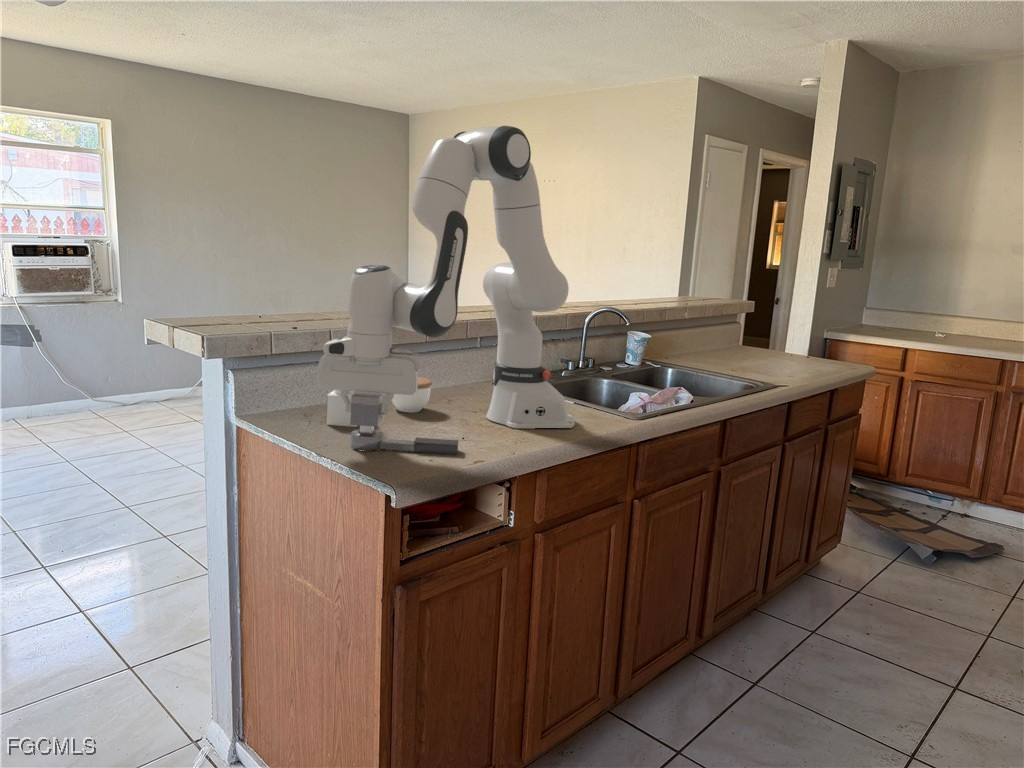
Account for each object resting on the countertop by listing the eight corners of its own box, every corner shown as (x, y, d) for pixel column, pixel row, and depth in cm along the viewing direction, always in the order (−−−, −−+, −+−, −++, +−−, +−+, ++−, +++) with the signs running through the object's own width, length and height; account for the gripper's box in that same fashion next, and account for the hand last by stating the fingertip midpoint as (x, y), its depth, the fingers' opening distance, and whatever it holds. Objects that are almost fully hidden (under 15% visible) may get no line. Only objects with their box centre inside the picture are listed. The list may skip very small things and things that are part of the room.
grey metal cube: (381, 419, 145) (383, 392, 144) (377, 426, 140) (378, 397, 138) (355, 418, 145) (356, 390, 144) (350, 424, 139) (351, 396, 138)
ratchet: (458, 448, 147) (460, 416, 146) (456, 457, 141) (458, 424, 140) (353, 441, 146) (354, 409, 145) (347, 450, 140) (348, 417, 139)
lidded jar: (382, 412, 172) (384, 375, 170) (394, 403, 183) (396, 368, 181) (424, 416, 171) (426, 379, 169) (434, 407, 182) (436, 372, 180)
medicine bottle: (334, 417, 164) (335, 368, 162) (364, 419, 164) (366, 370, 162) (325, 425, 157) (326, 373, 155) (356, 427, 157) (358, 376, 155)
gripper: (422, 347, 143) (418, 412, 145) (322, 340, 142) (321, 405, 144) (419, 352, 136) (415, 419, 139) (315, 344, 135) (313, 412, 138)
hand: (366, 412), depth 142 cm, fingers closed on grey metal cube, 5 cm apart
